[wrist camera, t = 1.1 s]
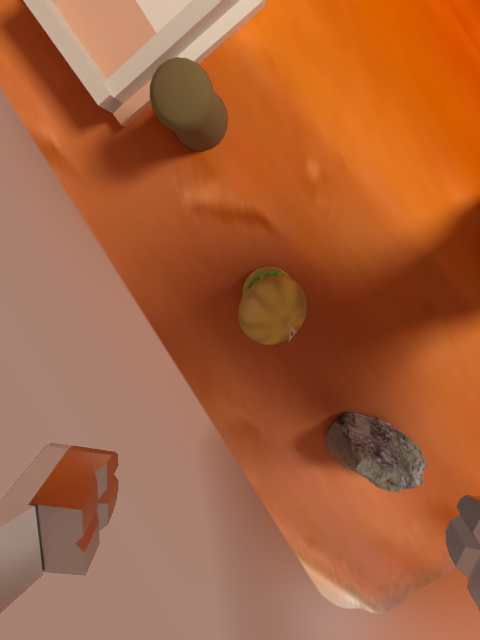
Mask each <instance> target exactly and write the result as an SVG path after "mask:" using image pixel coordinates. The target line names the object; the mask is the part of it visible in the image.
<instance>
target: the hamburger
mask: <svg viewBox="0 0 480 640" xmlns="http://www.w3.org/2000/svg"><path fill="white" fill-rule="evenodd" d="M242 294H243V297H242V299H241V301H240V303H239V310H238V322H239V324H240V328H241V330H242V331H243V332H244V333H245V334H246V336H247V337H248V338H250V339H251V340H253V341H255V342H257V343H260V344H264V345H275V346H276V344H278V343H282V342H284V341H286V340H288V339H289V341H290V340H291V339H292V337H293V336H294V335H295V334H296V333H297V331H298V330H299V329H300V328H301V326H302V324H303V323H304V320H305V319H306V314H307V298H306V295H305V293H304V291H303V289H302V288H301V286H300V285H299V284H298V283H297V282H295V281H294V279H292V278H291V277H290V276H289V275H288V274H287V273H286V272H285V271H283V270H281V269H280V268H276V267H272V266H270V267H262V268H258V269H256V270H255V271H254V272H252V273H251V274H250V275H249V277H248V278H247V279H246V281H245V282H244V284H243V290H242ZM289 341H288V342H289Z"/></svg>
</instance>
